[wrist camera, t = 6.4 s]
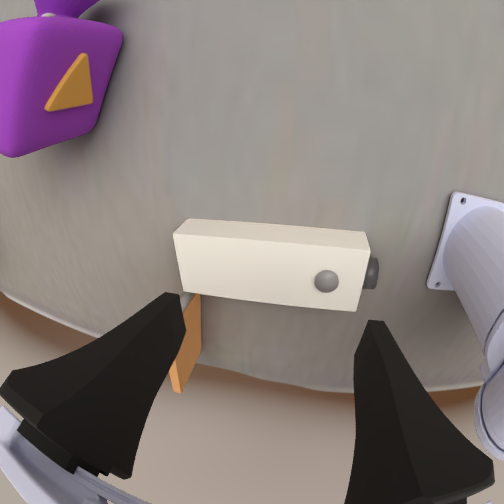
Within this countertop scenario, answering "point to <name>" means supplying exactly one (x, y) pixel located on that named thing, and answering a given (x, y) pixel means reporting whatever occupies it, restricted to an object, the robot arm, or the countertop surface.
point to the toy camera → (53, 75)
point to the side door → (187, 341)
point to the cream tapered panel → (275, 263)
